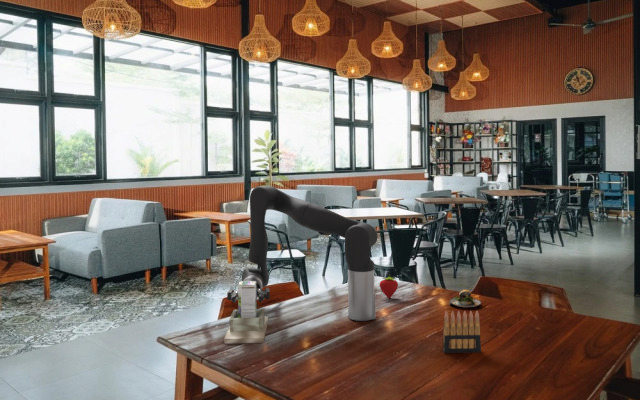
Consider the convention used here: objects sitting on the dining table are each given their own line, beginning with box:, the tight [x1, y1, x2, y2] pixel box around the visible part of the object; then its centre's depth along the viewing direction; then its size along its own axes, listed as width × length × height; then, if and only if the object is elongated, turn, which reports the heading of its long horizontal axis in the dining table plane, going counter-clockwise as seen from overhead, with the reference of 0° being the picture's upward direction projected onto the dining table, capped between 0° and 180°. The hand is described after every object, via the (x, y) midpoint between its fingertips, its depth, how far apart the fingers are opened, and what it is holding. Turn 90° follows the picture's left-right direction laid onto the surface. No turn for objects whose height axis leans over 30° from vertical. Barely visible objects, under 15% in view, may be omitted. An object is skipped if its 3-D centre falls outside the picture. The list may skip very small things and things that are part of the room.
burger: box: [448, 289, 482, 308], centre depth 199 cm, size 12×12×8 cm
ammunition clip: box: [442, 310, 482, 354], centre depth 151 cm, size 11×2×12 cm, turn 90°
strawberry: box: [379, 273, 399, 299], centre depth 210 cm, size 6×8×10 cm
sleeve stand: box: [223, 308, 269, 344], centre depth 172 cm, size 12×22×6 cm, turn 2°
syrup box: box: [237, 280, 257, 318], centre depth 173 cm, size 6×6×14 cm
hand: (247, 299), depth 172 cm, fingers open, 8 cm apart
